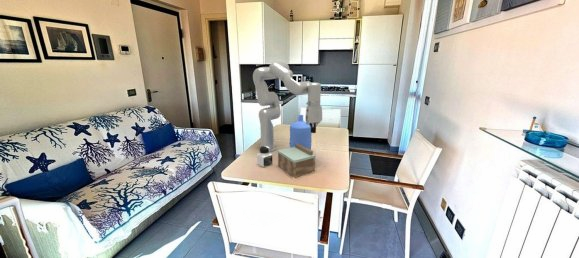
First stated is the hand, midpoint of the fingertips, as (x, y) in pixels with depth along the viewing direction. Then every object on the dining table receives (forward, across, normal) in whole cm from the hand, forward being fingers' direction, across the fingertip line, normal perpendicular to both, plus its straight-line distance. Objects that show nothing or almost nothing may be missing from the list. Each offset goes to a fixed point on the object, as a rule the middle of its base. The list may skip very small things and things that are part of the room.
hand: (313, 132), depth 148 cm
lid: (+12, -13, 0) cm, 18 cm away
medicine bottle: (+22, -26, +16) cm, 38 cm away
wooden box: (+22, -13, 0) cm, 25 cm away
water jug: (+22, +5, +20) cm, 30 cm away
